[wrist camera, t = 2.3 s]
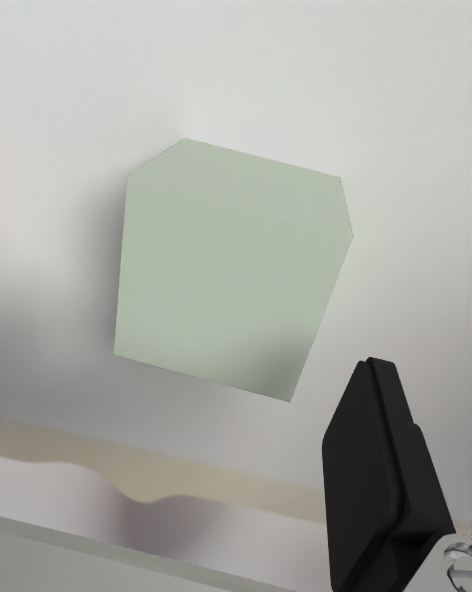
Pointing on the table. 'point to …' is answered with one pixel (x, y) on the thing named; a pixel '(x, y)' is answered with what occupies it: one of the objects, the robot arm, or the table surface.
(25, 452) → the table surface
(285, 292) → the sage cube
